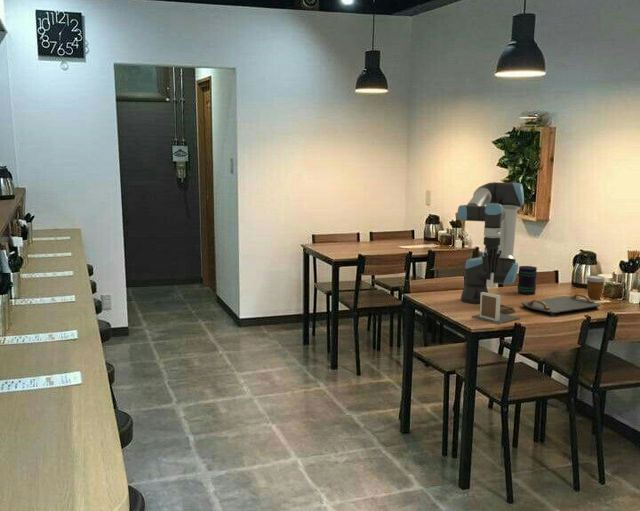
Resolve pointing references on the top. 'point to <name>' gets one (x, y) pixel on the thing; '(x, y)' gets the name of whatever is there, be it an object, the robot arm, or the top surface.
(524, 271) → the storage jar
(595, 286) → the disposable coffee cup
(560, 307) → the serving board
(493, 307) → the white picture frame
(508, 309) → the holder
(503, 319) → the rubber mat
